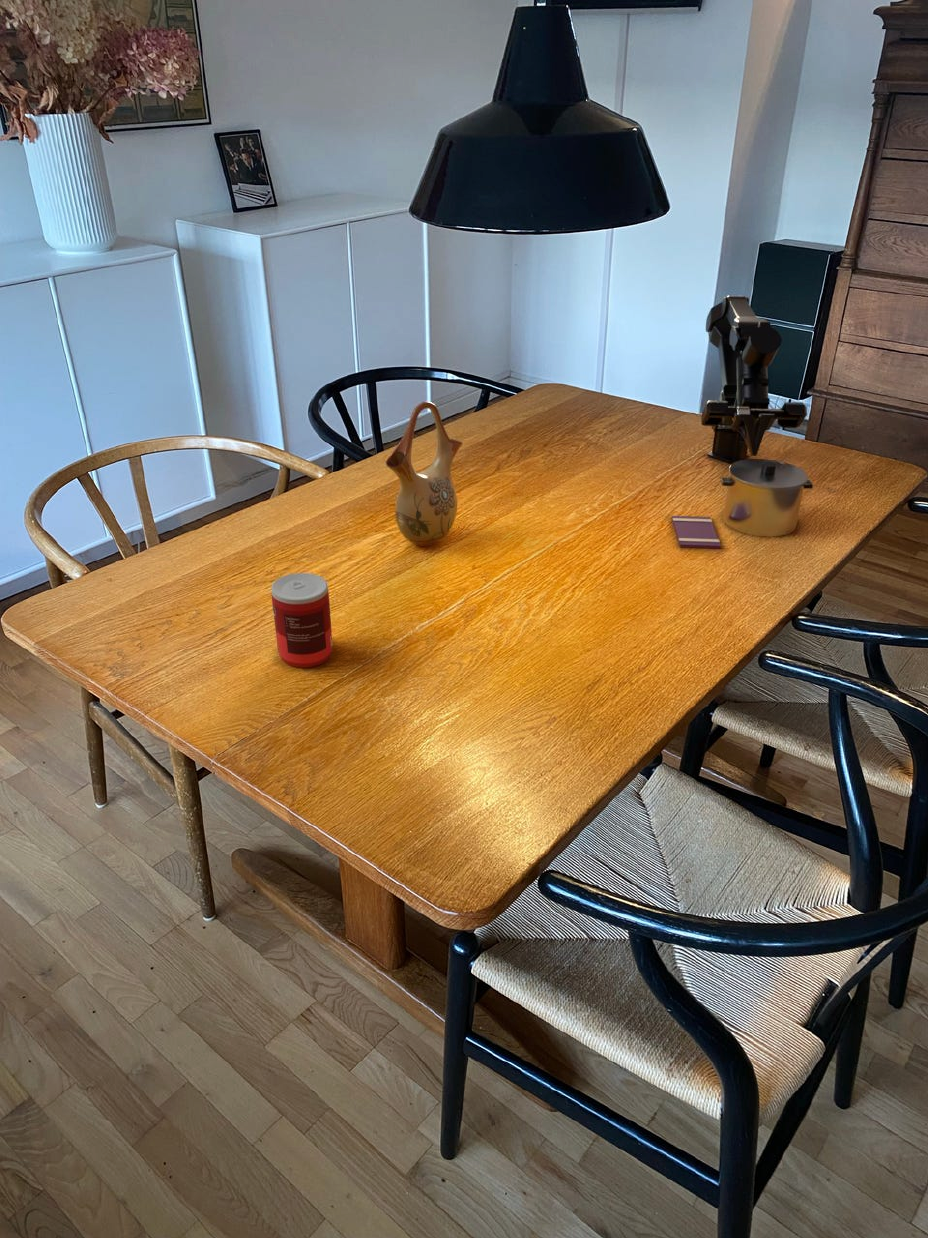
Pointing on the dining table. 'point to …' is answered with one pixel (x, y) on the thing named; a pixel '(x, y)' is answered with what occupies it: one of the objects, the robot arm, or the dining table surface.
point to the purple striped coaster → (695, 532)
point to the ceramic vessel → (425, 486)
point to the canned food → (302, 619)
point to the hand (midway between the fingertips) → (754, 455)
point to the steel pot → (764, 496)
